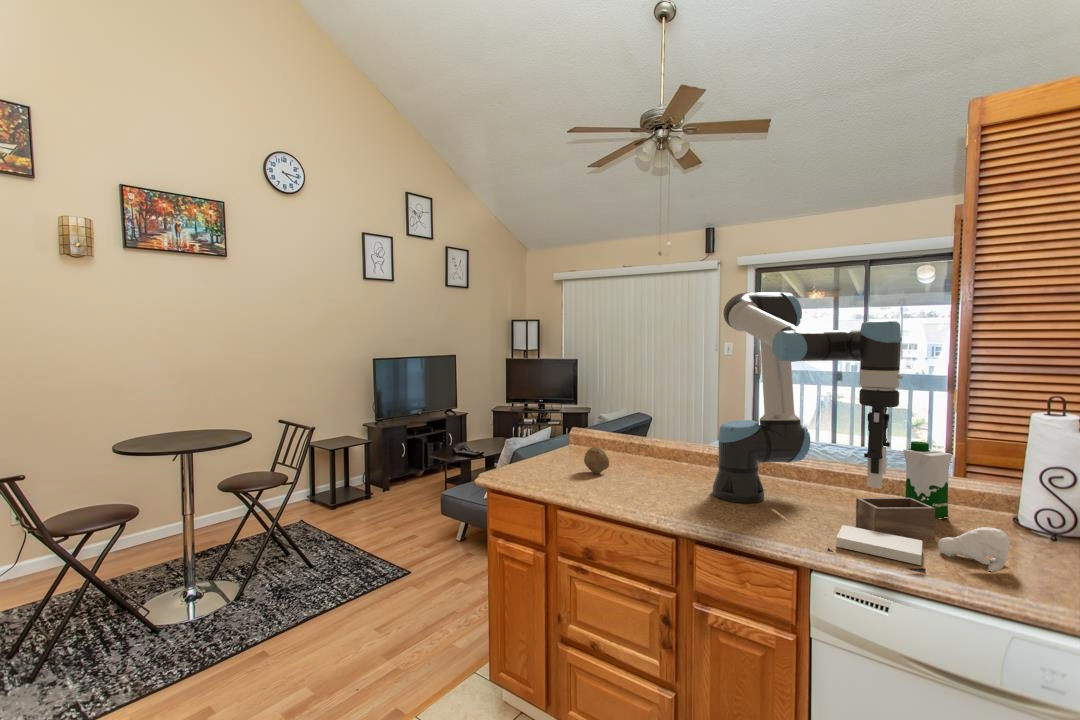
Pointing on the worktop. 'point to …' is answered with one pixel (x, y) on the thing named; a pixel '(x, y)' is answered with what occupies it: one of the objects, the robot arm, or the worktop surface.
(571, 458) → the worktop surface
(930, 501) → the milk carton
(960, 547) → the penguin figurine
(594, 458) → the brown oval lump
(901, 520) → the storage box
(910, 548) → the lid
